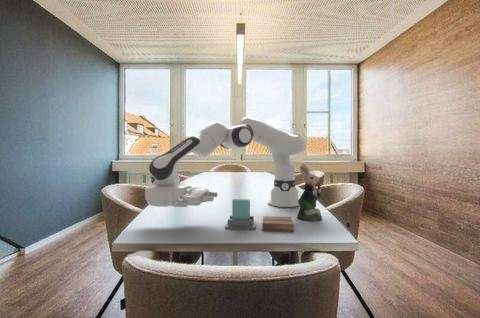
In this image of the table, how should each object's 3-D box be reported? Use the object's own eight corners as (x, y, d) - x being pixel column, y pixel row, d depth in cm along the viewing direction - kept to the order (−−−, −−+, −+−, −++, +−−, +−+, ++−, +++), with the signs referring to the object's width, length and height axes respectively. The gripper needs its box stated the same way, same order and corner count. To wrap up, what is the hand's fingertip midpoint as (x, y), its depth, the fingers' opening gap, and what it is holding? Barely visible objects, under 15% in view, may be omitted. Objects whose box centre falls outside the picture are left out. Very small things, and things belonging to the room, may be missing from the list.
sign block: (233, 222, 132) (233, 199, 132) (249, 223, 132) (249, 199, 131) (232, 224, 129) (232, 200, 129) (249, 224, 129) (249, 200, 128)
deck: (263, 223, 136) (263, 216, 135) (291, 223, 134) (291, 217, 134) (262, 230, 124) (262, 223, 123) (293, 231, 122) (293, 224, 122)
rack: (228, 222, 136) (228, 214, 136) (256, 223, 135) (256, 215, 135) (225, 229, 126) (225, 220, 126) (254, 229, 125) (254, 221, 125)
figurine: (321, 225, 138) (330, 169, 136) (291, 220, 141) (300, 165, 138) (320, 219, 149) (329, 167, 146) (292, 214, 151) (300, 162, 149)
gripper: (175, 193, 122) (210, 193, 121) (188, 185, 142) (219, 185, 141) (175, 209, 122) (211, 209, 121) (189, 199, 143) (219, 199, 141)
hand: (215, 196), depth 131 cm, fingers open, 8 cm apart
